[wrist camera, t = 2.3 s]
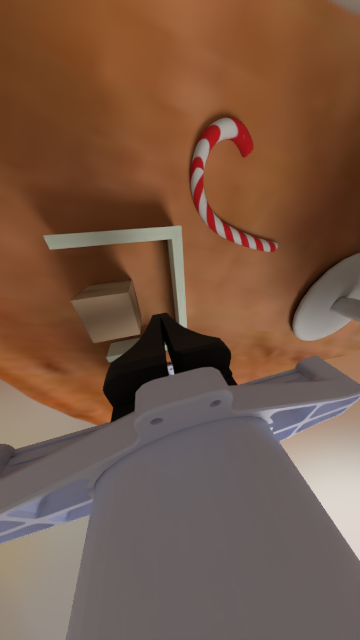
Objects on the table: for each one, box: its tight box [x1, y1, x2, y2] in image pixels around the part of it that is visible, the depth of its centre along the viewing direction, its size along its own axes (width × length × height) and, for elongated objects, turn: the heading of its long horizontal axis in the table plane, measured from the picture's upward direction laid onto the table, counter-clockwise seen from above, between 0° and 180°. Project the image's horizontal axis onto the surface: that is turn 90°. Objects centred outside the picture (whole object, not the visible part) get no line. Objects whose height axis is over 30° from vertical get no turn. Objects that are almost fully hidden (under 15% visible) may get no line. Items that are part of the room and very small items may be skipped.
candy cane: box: [190, 117, 278, 252], centre depth 15 cm, size 8×1×15 cm
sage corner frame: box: [43, 226, 187, 362], centre depth 17 cm, size 15×12×3 cm
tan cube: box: [70, 280, 141, 343], centre depth 16 cm, size 5×5×5 cm
